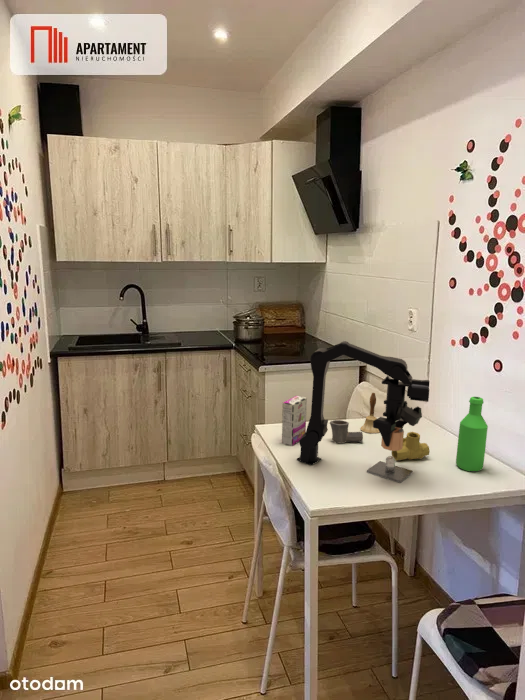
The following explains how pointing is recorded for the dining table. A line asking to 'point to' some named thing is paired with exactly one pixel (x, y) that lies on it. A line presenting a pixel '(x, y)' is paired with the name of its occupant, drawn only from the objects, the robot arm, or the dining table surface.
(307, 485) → the dining table surface
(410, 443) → the ball valve
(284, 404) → the candy bar box
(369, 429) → the hand bell
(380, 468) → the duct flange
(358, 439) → the pipe
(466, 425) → the bottle
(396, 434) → the collar
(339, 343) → the robot arm
